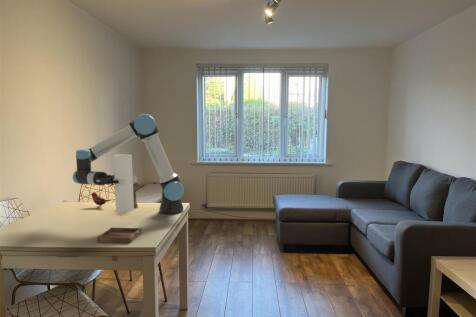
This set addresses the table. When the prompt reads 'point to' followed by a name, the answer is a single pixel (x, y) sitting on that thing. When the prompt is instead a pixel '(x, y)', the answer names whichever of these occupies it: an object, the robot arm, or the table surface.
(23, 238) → the table surface
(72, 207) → the table surface
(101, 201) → the decorative bird figurine
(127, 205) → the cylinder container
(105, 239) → the walnut stand tray
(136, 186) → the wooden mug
